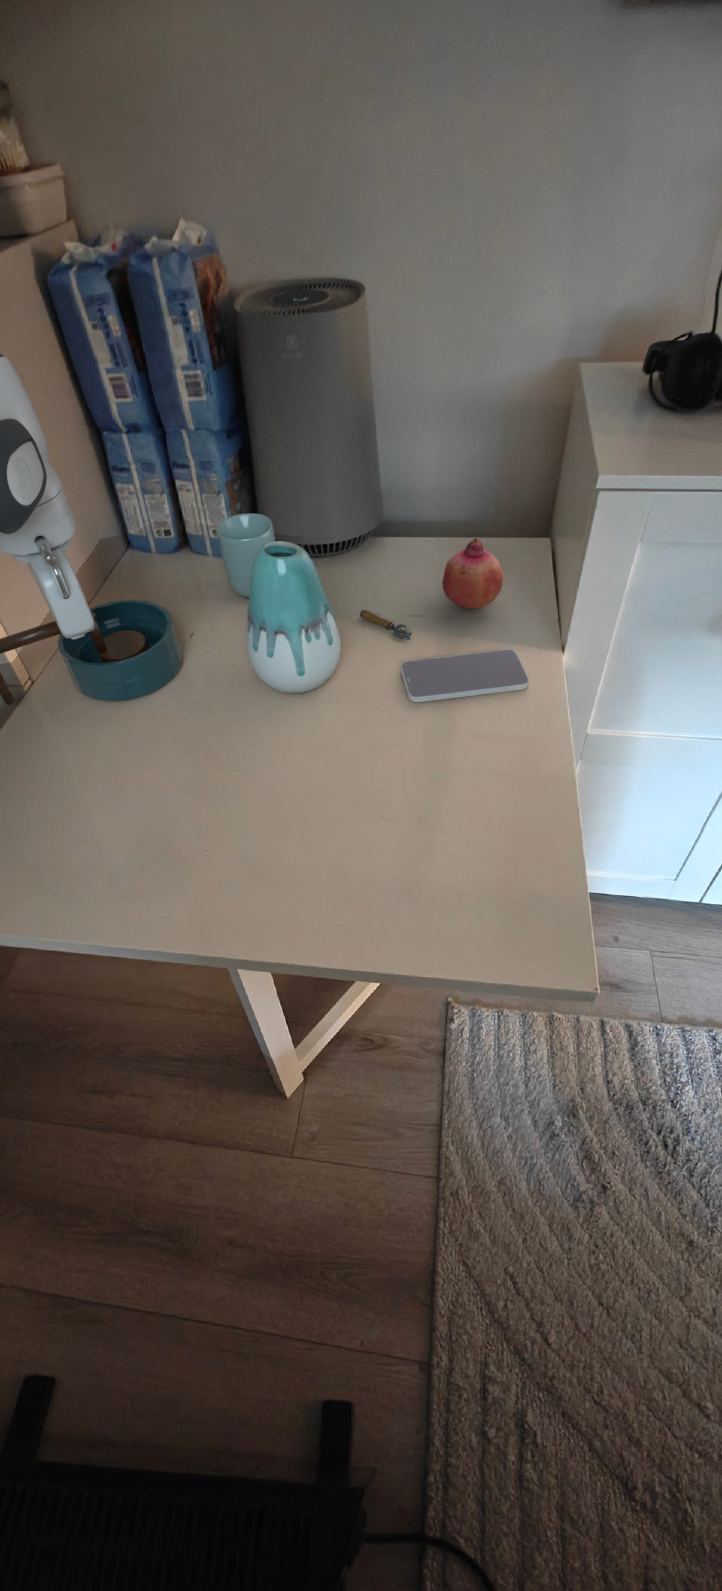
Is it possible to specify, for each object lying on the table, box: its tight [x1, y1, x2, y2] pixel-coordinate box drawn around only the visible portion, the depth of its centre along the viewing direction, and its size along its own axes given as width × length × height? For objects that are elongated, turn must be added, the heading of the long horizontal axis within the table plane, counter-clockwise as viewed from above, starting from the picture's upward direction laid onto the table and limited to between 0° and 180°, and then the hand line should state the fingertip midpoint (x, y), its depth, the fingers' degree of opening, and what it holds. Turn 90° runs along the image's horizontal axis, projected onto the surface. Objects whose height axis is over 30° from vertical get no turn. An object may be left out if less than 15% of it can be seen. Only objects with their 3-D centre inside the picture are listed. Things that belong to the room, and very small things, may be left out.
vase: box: [245, 540, 342, 694], centre depth 87 cm, size 12×12×18 cm
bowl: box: [57, 598, 183, 702], centre depth 94 cm, size 14×14×6 cm
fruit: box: [441, 538, 504, 609], centre depth 98 cm, size 8×8×10 cm
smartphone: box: [400, 648, 530, 703], centre depth 91 cm, size 7×1×15 cm
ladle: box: [0, 610, 149, 706], centre depth 90 cm, size 19×6×9 cm, turn 119°
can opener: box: [359, 609, 413, 641], centre depth 99 cm, size 9×2×1 cm, turn 44°
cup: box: [216, 512, 277, 599], centre depth 104 cm, size 8×8×10 cm
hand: (74, 628), depth 88 cm, fingers closed on ladle
